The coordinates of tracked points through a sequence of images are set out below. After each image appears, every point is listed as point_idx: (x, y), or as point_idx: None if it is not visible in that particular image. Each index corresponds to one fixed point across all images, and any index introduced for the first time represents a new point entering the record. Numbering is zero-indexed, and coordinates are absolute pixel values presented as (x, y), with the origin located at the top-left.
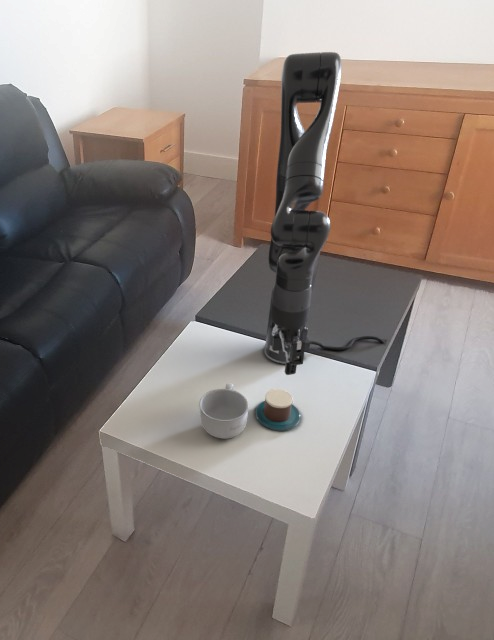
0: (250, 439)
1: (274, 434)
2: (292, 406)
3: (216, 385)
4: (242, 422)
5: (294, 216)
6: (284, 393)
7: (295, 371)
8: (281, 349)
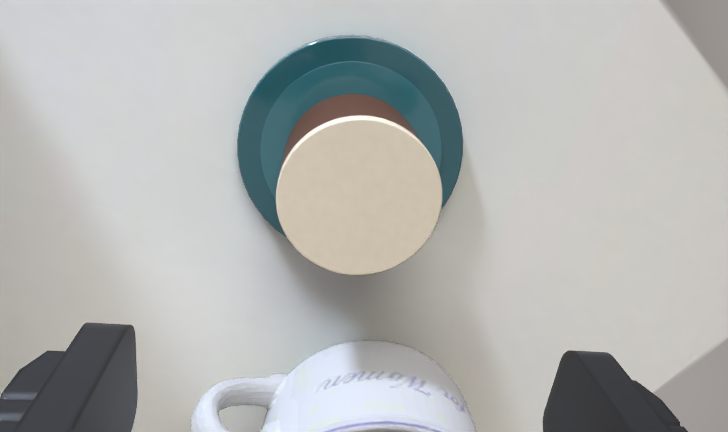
0: (454, 316)
1: (461, 213)
2: (320, 53)
3: (70, 342)
4: (474, 430)
5: None
6: (334, 153)
7: (671, 412)
8: (132, 331)
